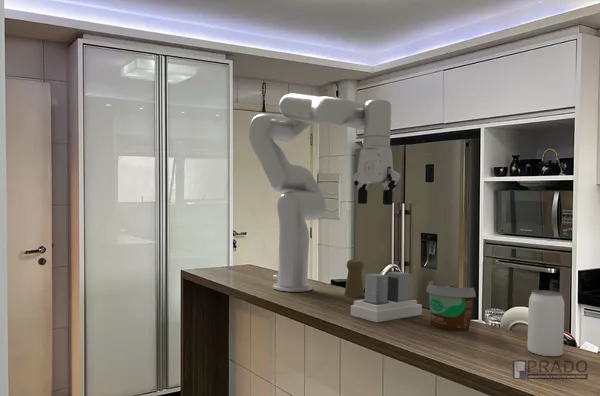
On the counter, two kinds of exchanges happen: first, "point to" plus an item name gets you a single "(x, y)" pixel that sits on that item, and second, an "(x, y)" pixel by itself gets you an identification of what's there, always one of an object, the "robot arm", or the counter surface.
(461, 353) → the counter surface
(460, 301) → the food container
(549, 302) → the can
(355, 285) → the cork
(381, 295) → the upright gray prism
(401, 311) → the white stepped block base
